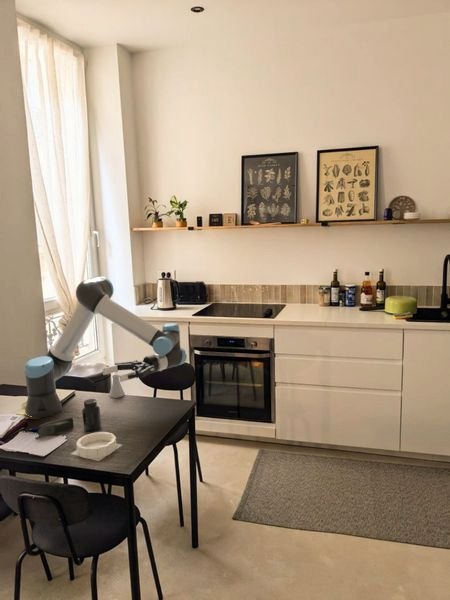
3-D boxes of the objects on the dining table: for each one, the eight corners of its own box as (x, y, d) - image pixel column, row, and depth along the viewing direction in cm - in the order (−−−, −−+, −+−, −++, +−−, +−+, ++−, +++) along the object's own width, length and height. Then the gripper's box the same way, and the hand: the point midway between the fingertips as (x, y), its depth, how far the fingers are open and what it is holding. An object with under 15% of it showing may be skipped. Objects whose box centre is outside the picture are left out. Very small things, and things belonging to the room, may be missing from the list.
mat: (70, 454, 168) (70, 453, 168) (95, 439, 179) (95, 438, 179) (98, 462, 162) (98, 461, 162) (122, 445, 173) (122, 444, 173)
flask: (116, 399, 220) (114, 378, 219) (106, 396, 225) (104, 376, 223) (127, 394, 226) (126, 374, 224) (118, 391, 230) (116, 372, 229)
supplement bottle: (94, 424, 193) (92, 396, 191) (105, 428, 189) (102, 400, 187) (80, 430, 188) (77, 401, 186) (90, 434, 183) (88, 405, 182)
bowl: (69, 453, 168) (68, 444, 167) (95, 438, 179) (95, 429, 179) (98, 461, 161) (97, 451, 161) (123, 444, 173) (122, 435, 173)
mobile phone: (71, 415, 191) (33, 425, 182) (74, 418, 189) (35, 427, 180) (72, 427, 192) (34, 437, 183) (74, 429, 189) (36, 440, 180)
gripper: (172, 377, 197) (128, 390, 183) (139, 366, 215) (97, 377, 201) (171, 360, 196) (126, 372, 182) (138, 350, 214) (95, 360, 200)
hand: (111, 375), depth 191 cm, fingers open, 13 cm apart
